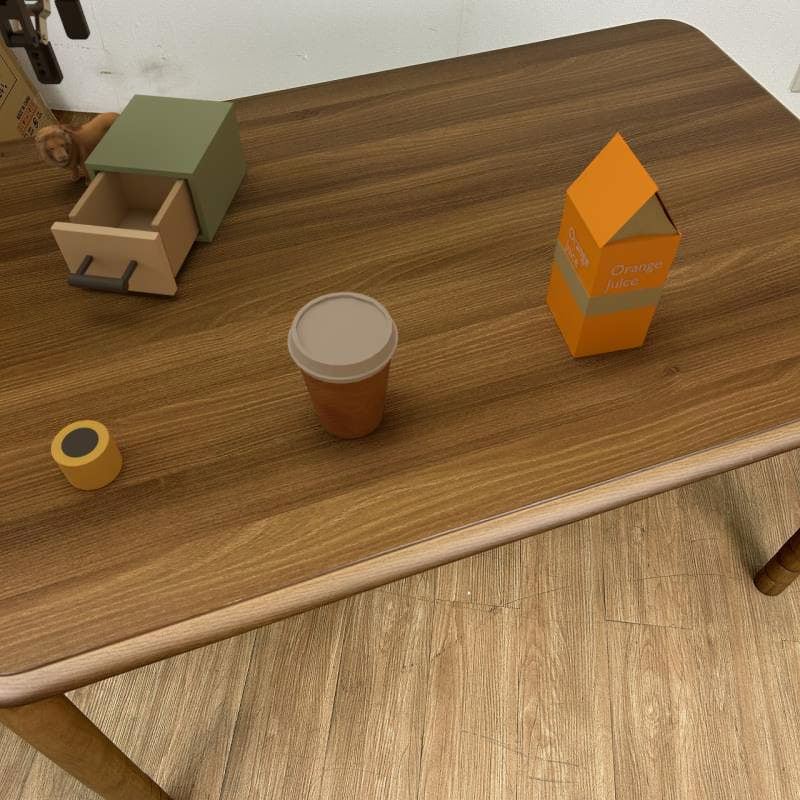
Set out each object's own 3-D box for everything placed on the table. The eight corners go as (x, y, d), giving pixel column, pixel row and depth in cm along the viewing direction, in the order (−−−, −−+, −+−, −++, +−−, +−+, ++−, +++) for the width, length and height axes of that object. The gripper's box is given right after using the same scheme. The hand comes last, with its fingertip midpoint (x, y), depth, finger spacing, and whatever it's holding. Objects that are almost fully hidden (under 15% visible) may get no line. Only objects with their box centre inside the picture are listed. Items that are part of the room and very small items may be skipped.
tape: (57, 486, 67) (40, 461, 64) (81, 441, 70) (65, 416, 67) (109, 494, 67) (94, 469, 64) (131, 448, 70) (117, 423, 67)
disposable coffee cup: (419, 421, 71) (420, 336, 62) (335, 470, 68) (323, 387, 59) (364, 361, 76) (357, 273, 67) (283, 404, 73) (264, 317, 64)
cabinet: (211, 242, 88) (192, 173, 81) (111, 232, 90) (83, 163, 82) (247, 171, 97) (233, 102, 90) (155, 162, 99) (134, 94, 91)
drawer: (159, 323, 79) (138, 268, 73) (59, 311, 80) (30, 255, 74) (213, 218, 90) (199, 162, 83) (124, 209, 91) (103, 153, 85)
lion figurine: (76, 206, 93) (49, 142, 86) (46, 193, 95) (17, 129, 87) (157, 148, 100) (138, 85, 93) (129, 137, 102) (108, 74, 95)
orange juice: (610, 289, 83) (657, 125, 67) (643, 346, 77) (703, 183, 62) (543, 300, 82) (575, 137, 66) (572, 359, 76) (614, 196, 61)
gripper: (-20, -168, 64) (52, 25, 76) (-95, -108, 55) (1, 98, 67) (66, -169, 63) (124, 25, 76) (5, -109, 55) (82, 99, 67)
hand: (66, 59), depth 72 cm, fingers open, 8 cm apart
